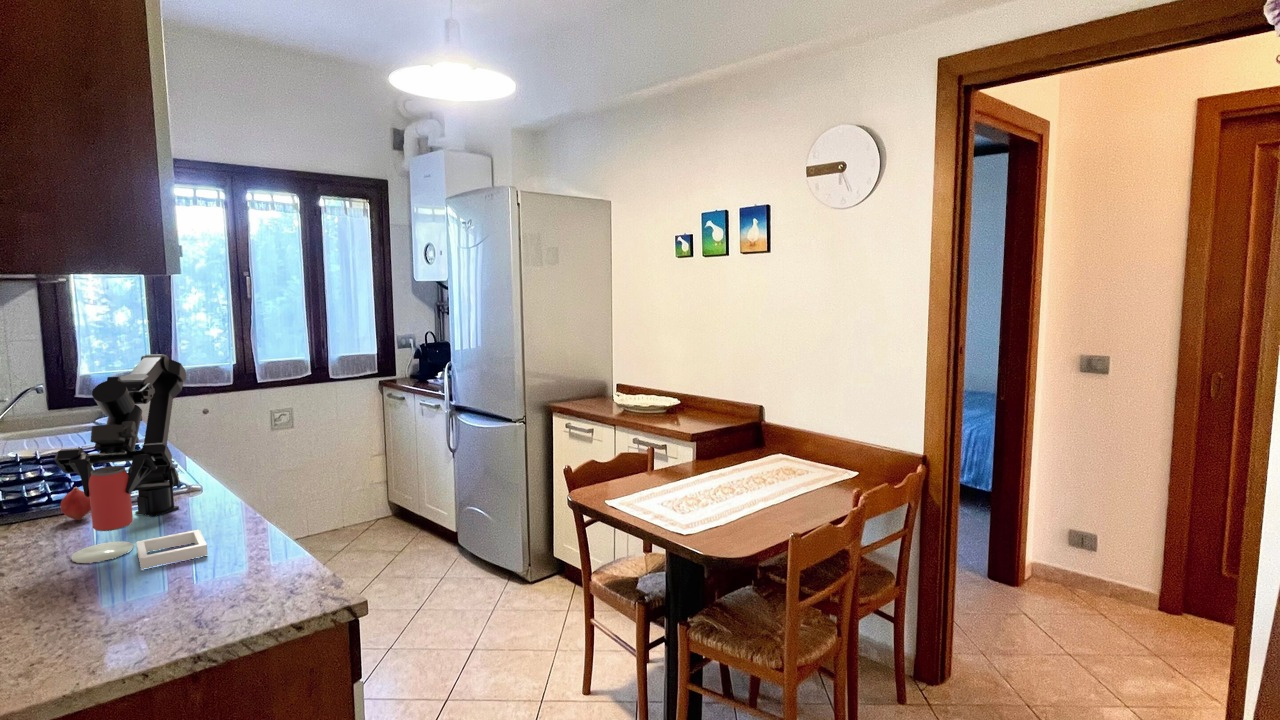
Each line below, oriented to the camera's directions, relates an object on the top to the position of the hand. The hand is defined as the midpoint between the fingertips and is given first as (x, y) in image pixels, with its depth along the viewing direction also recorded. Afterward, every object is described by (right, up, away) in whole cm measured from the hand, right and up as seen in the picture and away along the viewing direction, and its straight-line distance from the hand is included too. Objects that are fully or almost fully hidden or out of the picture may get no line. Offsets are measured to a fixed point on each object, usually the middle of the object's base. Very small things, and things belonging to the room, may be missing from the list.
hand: (107, 494), depth 136 cm
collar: (+11, -13, +3) cm, 17 cm away
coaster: (-3, -13, +3) cm, 14 cm away
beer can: (-1, -7, +2) cm, 8 cm away
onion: (-25, -11, +22) cm, 35 cm away
